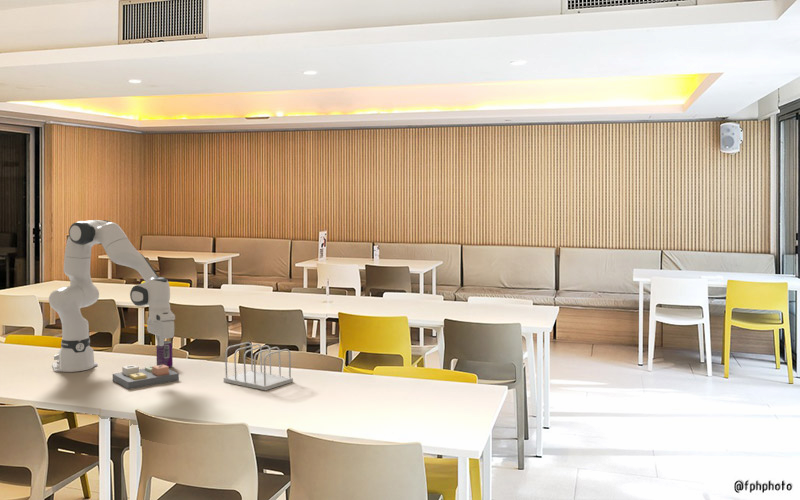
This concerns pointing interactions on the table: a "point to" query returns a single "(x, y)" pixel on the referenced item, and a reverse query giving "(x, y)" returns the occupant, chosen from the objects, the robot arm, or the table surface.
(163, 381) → the keypad base
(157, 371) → the terracotta key
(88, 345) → the robot arm
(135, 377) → the ochre key
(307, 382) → the table surface
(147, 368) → the sage key
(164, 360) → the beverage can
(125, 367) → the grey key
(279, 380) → the file sorter
